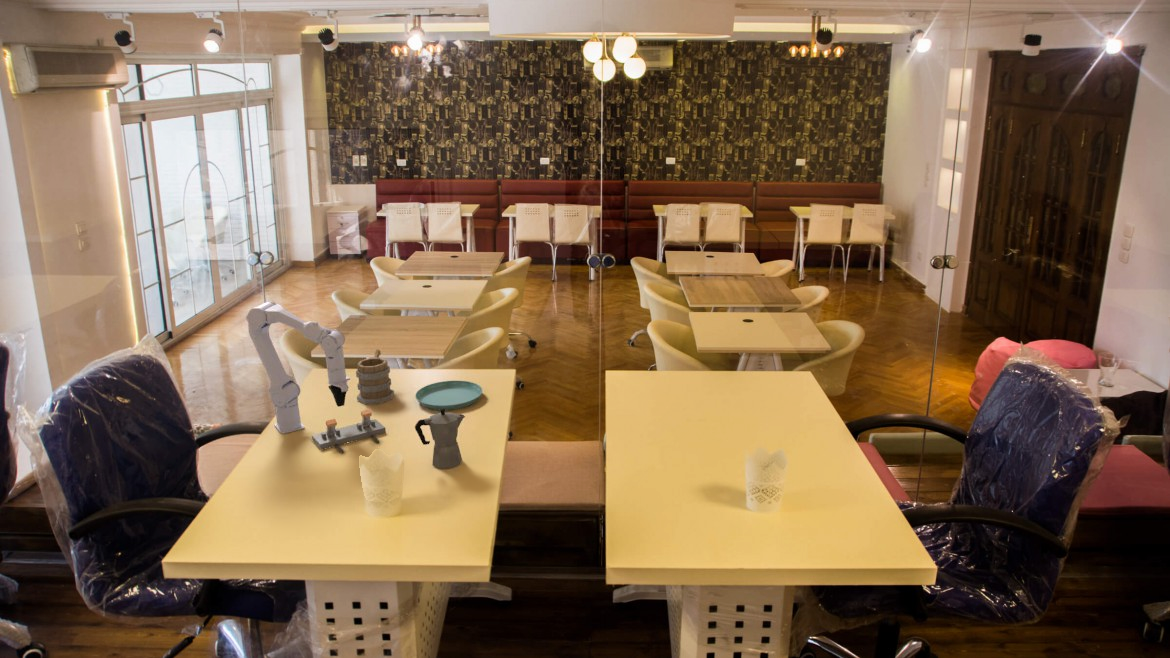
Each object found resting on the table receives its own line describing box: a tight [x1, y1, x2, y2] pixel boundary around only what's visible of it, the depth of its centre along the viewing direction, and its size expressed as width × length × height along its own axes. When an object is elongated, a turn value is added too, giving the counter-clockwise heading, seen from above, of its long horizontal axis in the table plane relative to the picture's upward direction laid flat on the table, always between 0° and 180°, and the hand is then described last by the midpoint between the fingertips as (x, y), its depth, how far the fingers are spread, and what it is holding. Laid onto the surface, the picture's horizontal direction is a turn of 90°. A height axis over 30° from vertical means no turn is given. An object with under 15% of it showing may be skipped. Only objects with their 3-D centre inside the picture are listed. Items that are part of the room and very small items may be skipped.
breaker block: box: [311, 419, 387, 454], centre depth 295 cm, size 16×22×4 cm
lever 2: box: [360, 409, 373, 428], centre depth 299 cm, size 2×3×6 cm, turn 124°
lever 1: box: [325, 418, 338, 437], centre depth 293 cm, size 2×3×6 cm, turn 125°
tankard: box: [355, 349, 395, 405], centre depth 333 cm, size 20×13×15 cm, turn 179°
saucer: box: [414, 380, 483, 411], centre depth 327 cm, size 24×24×3 cm
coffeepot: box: [414, 409, 466, 470], centre depth 274 cm, size 15×9×18 cm, turn 110°
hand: (340, 405), depth 300 cm, fingers closed
